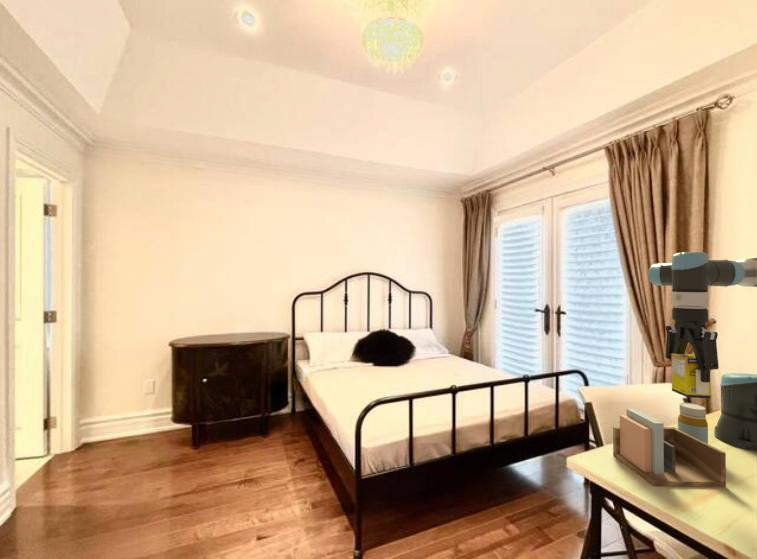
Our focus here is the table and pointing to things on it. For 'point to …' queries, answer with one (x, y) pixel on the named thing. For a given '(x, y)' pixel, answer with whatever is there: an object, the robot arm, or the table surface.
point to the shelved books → (642, 441)
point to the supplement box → (686, 376)
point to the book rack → (682, 461)
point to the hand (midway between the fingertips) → (690, 389)
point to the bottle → (693, 421)
